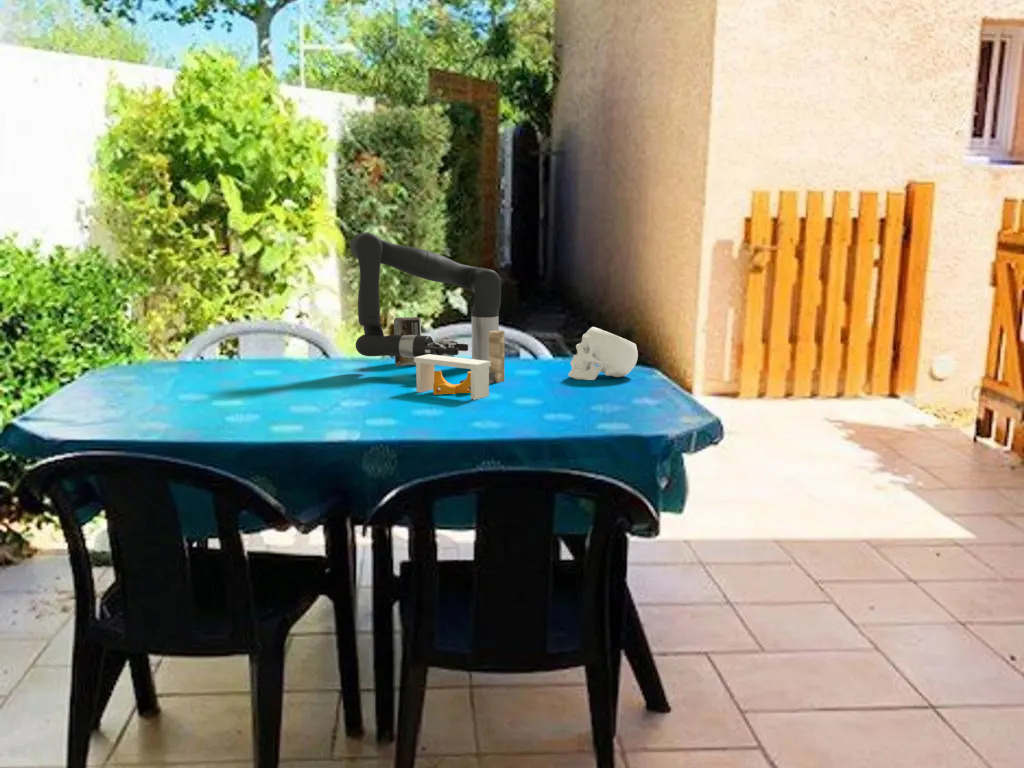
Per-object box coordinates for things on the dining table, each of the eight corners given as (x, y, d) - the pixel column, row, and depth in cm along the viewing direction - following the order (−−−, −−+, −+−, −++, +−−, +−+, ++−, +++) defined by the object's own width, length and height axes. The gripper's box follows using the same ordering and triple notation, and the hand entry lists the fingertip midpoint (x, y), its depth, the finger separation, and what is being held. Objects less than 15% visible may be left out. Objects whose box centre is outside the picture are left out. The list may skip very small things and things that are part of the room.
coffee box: (422, 362, 356) (421, 316, 353) (421, 365, 350) (420, 319, 347) (396, 362, 356) (395, 316, 353) (394, 366, 350) (393, 319, 347)
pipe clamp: (433, 395, 303) (433, 373, 302) (435, 392, 307) (435, 370, 306) (473, 395, 302) (473, 374, 301) (475, 392, 306) (474, 371, 305)
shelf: (429, 387, 312) (428, 354, 310) (491, 396, 300) (490, 361, 298) (414, 391, 306) (414, 357, 304) (477, 400, 294) (477, 364, 292)
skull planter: (558, 368, 334) (585, 317, 332) (610, 394, 338) (638, 344, 336) (565, 376, 321) (594, 322, 318) (620, 403, 325) (648, 351, 322)
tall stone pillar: (495, 380, 325) (495, 330, 322) (504, 381, 323) (504, 331, 320) (457, 390, 308) (456, 338, 305) (466, 392, 306) (466, 339, 303)
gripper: (407, 338, 322) (454, 341, 317) (424, 332, 335) (471, 334, 330) (407, 361, 323) (455, 364, 318) (425, 354, 336) (471, 357, 331)
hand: (463, 349), depth 324 cm, fingers open, 8 cm apart
